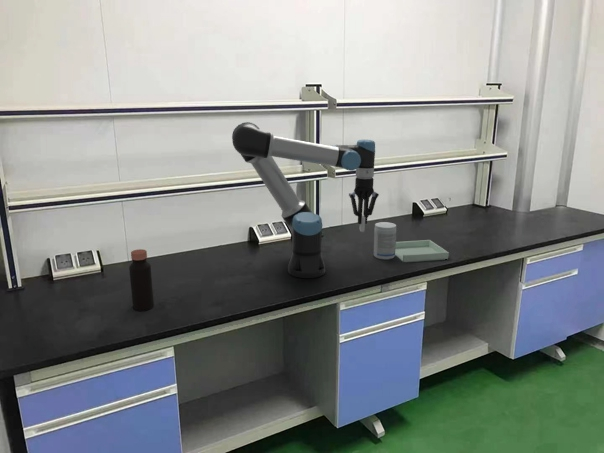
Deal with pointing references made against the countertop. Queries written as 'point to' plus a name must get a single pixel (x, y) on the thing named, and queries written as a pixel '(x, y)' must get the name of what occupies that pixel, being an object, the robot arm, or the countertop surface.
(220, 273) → the countertop surface
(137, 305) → the bottle
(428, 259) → the tray
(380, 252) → the supplement tub
